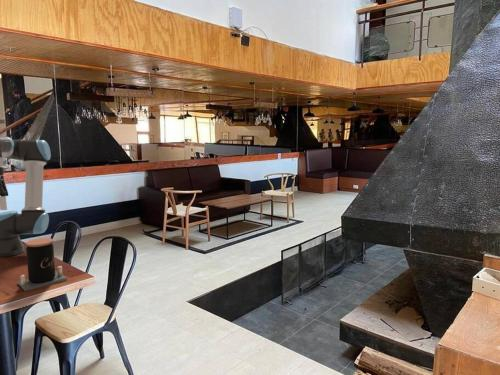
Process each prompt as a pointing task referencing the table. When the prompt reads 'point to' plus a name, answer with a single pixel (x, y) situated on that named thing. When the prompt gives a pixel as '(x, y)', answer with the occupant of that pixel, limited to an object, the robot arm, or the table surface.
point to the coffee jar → (40, 260)
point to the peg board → (29, 286)
